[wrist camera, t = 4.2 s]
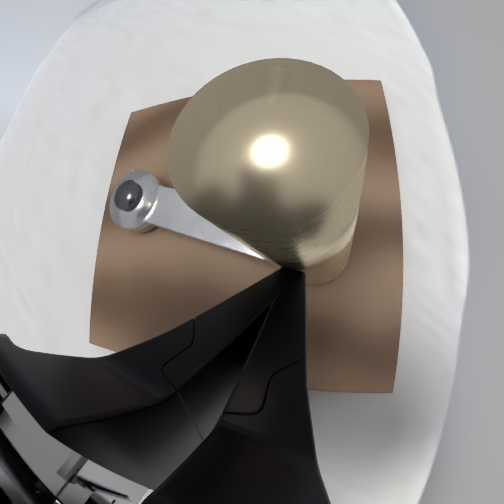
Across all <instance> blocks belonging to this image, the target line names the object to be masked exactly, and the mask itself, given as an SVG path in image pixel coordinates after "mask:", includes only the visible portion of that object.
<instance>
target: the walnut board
mask: <svg viewBox="0 0 504 504" xmlns="http://www.w3.org/2000/svg"><path fill="white" fill-rule="evenodd" d="M345 81H346V82H347V83H348V84H349V85H350V86H351V87H352V88H353V90H354V91H355V92H356V93H357V95H358V96H359V98H360V100H361V101H362V103H363V106H364V108H365V111H366V114H367V118H368V123H369V142H368V150H367V158H366V165H365V172H364V179H363V186H362V192H361V198H360V204H359V210H358V215H357V221H356V226H355V231H354V236H353V241H352V246H351V251H350V255H349V259H348V262H347V264H346V266H345V268H344V269H343V271H342V272H341V273H340V274H339V275H338V276H337V277H336V278H334V279H333V280H331V281H329V282H327V283H324V284H319V285H308V284H306V298H307V384H308V390H318V391H333V392H356V393H392V392H393V386H394V379H395V372H396V365H397V357H398V348H399V339H400V327H401V313H402V292H403V238H402V217H401V202H400V191H399V181H398V172H397V164H396V157H395V150H394V143H393V137H392V131H391V125H390V120H389V115H388V110H387V105H386V101H385V96H384V92H383V88H382V83H381V81H378V80H345ZM191 98H192V97H188V98H184V99H180V100H175V101H171V102H167V103H164V104H160V105H156V106H152V107H149V108H145V109H142V110H139V111H135V112H132V113H131V115H130V118H129V121H128V124H127V127H126V130H125V133H124V136H123V139H122V143H121V146H120V150H119V153H118V157H117V160H116V164H115V168H114V172H113V176H112V180H111V184H110V188H109V192H108V197H107V201H106V206H105V211H104V216H103V221H102V227H101V232H100V238H99V244H98V251H97V258H96V265H95V273H94V282H93V292H92V303H91V317H90V338H89V343H91V344H94V345H97V346H100V347H103V348H106V349H109V350H112V351H115V352H119V351H121V350H124V349H126V348H129V347H131V346H134V345H136V344H139V343H141V342H144V341H146V340H149V339H151V338H153V337H156V336H158V335H160V334H162V333H165V332H167V331H169V330H171V329H173V328H175V327H177V326H179V325H181V324H183V323H184V322H186V321H188V320H190V319H192V318H194V319H195V317H196V316H197V315H199V314H201V313H203V312H205V311H206V310H208V309H210V308H212V307H214V306H215V305H217V304H219V303H221V302H222V301H224V300H226V299H228V298H230V297H231V296H233V295H235V294H237V293H238V292H240V291H242V290H244V289H245V288H247V287H249V286H251V285H252V284H254V283H256V282H258V281H259V280H261V279H263V278H265V277H266V276H268V275H270V274H271V273H273V272H275V271H277V270H278V269H279V268H277V267H276V266H274V265H273V264H271V263H269V262H266V261H263V260H259V259H256V258H253V257H250V256H247V255H244V254H241V253H237V252H234V251H231V250H228V249H225V248H222V247H219V246H215V245H212V244H209V243H206V242H203V241H200V240H197V239H193V238H190V237H187V236H184V235H181V234H178V233H175V232H172V231H169V230H165V229H162V228H159V227H156V226H155V227H154V228H153V229H151V230H149V231H147V232H143V233H137V232H133V231H131V230H128V229H126V228H124V227H121V226H119V225H117V224H116V223H115V222H114V221H113V220H112V218H111V215H110V209H109V206H110V199H111V195H112V193H113V190H114V188H115V187H116V185H117V184H118V182H119V181H120V180H121V179H122V178H123V177H124V176H125V175H126V174H128V173H130V172H132V171H134V170H145V171H147V172H149V173H150V174H152V175H153V176H154V177H156V178H157V179H159V180H160V181H161V182H163V183H164V184H165V186H166V187H167V188H172V189H175V188H174V186H173V184H172V182H171V179H170V176H169V172H168V165H167V148H168V142H169V138H170V134H171V131H172V128H173V126H174V124H175V122H176V119H177V118H178V116H179V114H180V112H181V111H182V109H183V108H184V107H185V105H186V104H187V103H188V101H189V100H190V99H191Z"/></svg>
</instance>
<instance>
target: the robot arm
mask: <svg viewBox="0 0 504 504" xmlns="http://www.w3.org/2000/svg"><path fill="white" fill-rule="evenodd" d="M148 489H152V490H154V491H153V492H152V493H151V494H150V495H149V496H148V497H147V498H146V499H145V500H144V501H143V502H142V503H141V504H331V503H330V500H329V497H328V494H327V491H326V489H325V486H324V483H323V480H322V477H321V474H320V471H319V467H318V462H317V457H316V451H315V444H314V436H313V428H312V421H311V413H310V406H309V396H308V384H307V298H306V273H305V272H303V271H299V270H295V269H288V268H284V267H282V268H280V269H278V270H277V271H275V272H273V273H271V274H270V275H268V276H266V277H265V278H263V279H261V280H259V281H258V282H256V283H254V284H252V285H251V286H249V287H247V288H245V289H244V290H242V291H240V292H238V293H237V294H235V295H233V296H231V297H230V298H228V299H226V300H224V301H222V302H221V303H219V304H217V305H215V306H214V307H212V308H210V309H208V310H206V311H205V312H203V313H201V314H199V315H197V316H196V317H195V319H194V318H192V319H190V320H188V321H186V322H184V323H183V324H181V325H179V326H177V327H175V328H173V329H171V330H169V331H167V332H165V333H162V334H160V335H158V336H156V337H153V338H151V339H149V340H146V341H144V342H141V343H139V344H136V345H134V346H131V347H129V348H126V349H124V350H121V351H119V352H116V353H114V354H111V355H108V356H103V357H97V358H84V357H74V356H65V355H56V354H48V353H41V352H34V351H29V350H25V349H22V348H20V347H18V346H16V345H15V344H14V343H13V342H12V341H11V340H10V338H9V337H8V336H7V335H6V334H0V504H58V503H57V502H55V501H56V500H58V501H59V502H60V503H61V504H138V503H139V501H140V500H141V499H142V497H143V496H144V495H145V493H146V492H147V490H148Z"/></svg>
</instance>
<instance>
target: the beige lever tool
mask: <svg viewBox="0 0 504 504" xmlns="http://www.w3.org/2000/svg"><path fill="white" fill-rule="evenodd" d="M368 142H369V123H368V118H367V114H366V111H365V108H364V106H363V103H362V101H361V100H360V98H359V96H358V95H357V93H356V92H355V91H354V90H353V88H352V87H351V86H350V85H349V84H348V83H347V82H346V81H345V80H344V79H342V78H341V77H340V76H338V75H337V74H335V73H334V72H332V71H331V70H329V69H327V68H325V67H322V66H320V65H317V64H314V63H311V62H307V61H303V60H297V59H289V58H274V59H264V60H258V61H254V62H250V63H246V64H243V65H240V66H238V67H235V68H233V69H230V70H228V71H226V72H224V73H222V74H221V75H219V76H217V77H216V78H214V79H213V80H211V81H210V82H208V83H207V84H206V85H204V86H203V87H202V88H201V89H200V90H199V91H198V92H197V93H196V94H195V95H194V96H193V97H192V98H191V99H190V100H189V101H188V103H187V104H186V105H185V107H184V108H183V109H182V111H181V112H180V114H179V116H178V118H177V119H176V122H175V124H174V126H173V128H172V131H171V134H170V138H169V142H168V148H167V165H168V172H169V176H170V179H171V182H172V184H173V186H174V188H175V189H172V188H167V187H166V186H165V184H164V183H163V182H161V181H160V180H159V179H157V178H156V177H154V176H153V175H152V174H150V173H149V172H147V171H145V170H134V171H132V172H130V173H128V174H126V175H125V176H124V177H123V178H122V179H121V180H120V181H119V182H118V184H117V185H116V187H115V188H114V190H113V193H112V195H111V199H110V206H109V209H110V215H111V218H112V220H113V221H114V222H115V223H116V224H117V225H119V226H121V227H124V228H126V229H128V230H131V231H133V232H137V233H143V232H147V231H149V230H151V229H153V228H154V227H155V226H156V227H159V228H162V229H165V230H169V231H172V232H175V233H178V234H181V235H184V236H187V237H190V238H193V239H197V240H200V241H203V242H206V243H209V244H212V245H215V246H219V247H222V248H225V249H228V250H231V251H234V252H237V253H241V254H244V255H247V256H250V257H253V258H256V259H259V260H263V261H266V262H269V263H271V264H273V265H274V266H276V267H277V268H279V269H280V268H282V267H284V268H288V269H295V270H299V271H303V272H305V273H306V284H308V285H319V284H324V283H327V282H329V281H331V280H333V279H334V278H336V277H337V276H338V275H339V274H340V273H341V272H342V271H343V269H344V268H345V266H346V264H347V262H348V259H349V255H350V251H351V246H352V241H353V236H354V231H355V226H356V221H357V215H358V210H359V204H360V198H361V192H362V186H363V179H364V172H365V165H366V158H367V150H368Z"/></svg>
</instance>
